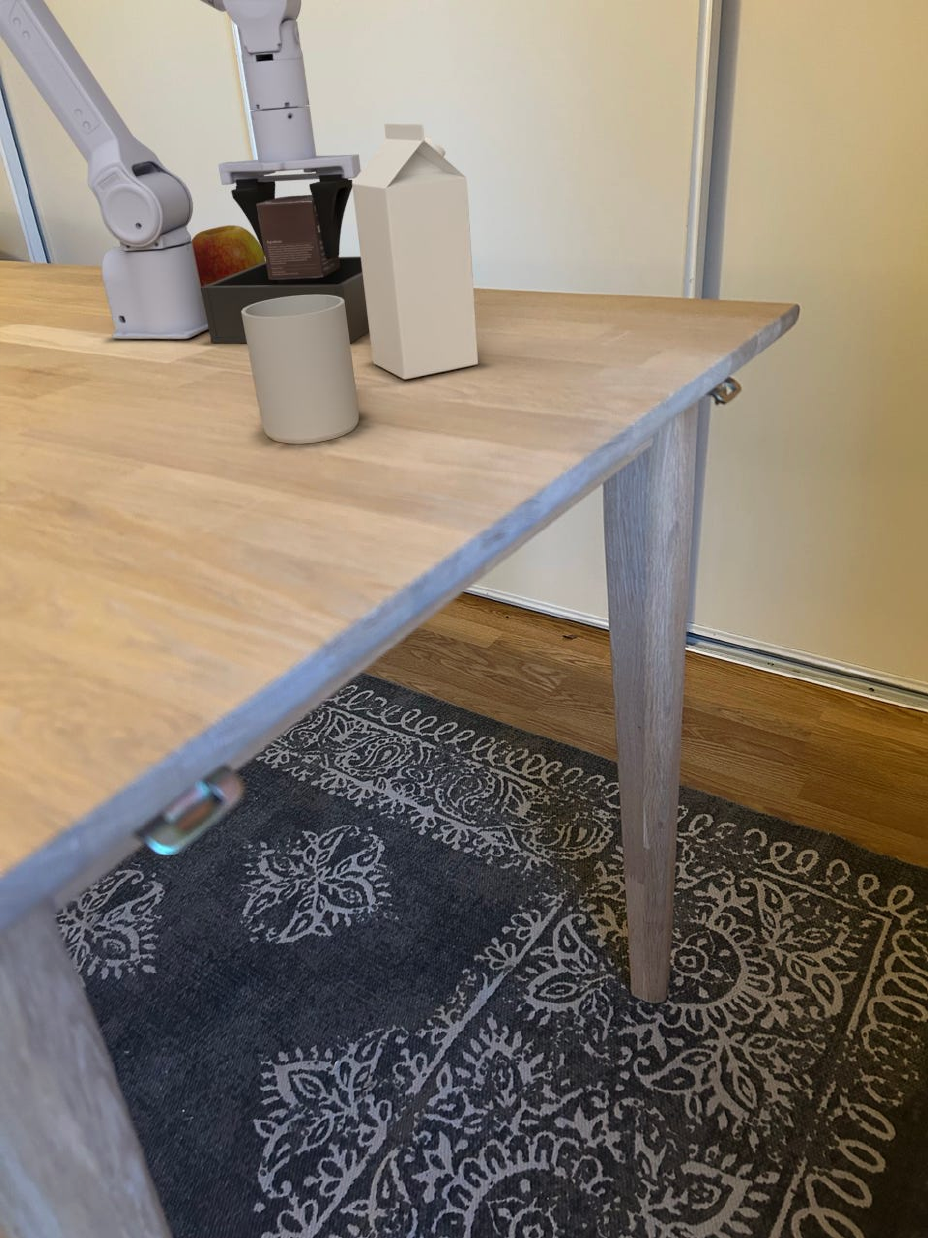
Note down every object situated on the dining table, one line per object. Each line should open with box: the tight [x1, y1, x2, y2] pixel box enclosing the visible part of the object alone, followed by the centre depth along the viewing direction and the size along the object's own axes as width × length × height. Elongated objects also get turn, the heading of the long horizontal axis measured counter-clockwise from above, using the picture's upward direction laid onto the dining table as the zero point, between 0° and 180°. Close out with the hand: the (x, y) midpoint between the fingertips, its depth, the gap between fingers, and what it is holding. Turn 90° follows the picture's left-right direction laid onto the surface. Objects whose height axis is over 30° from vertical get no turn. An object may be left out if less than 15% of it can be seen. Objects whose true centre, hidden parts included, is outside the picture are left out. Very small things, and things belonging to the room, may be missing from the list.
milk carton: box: [352, 123, 479, 380], centre depth 79 cm, size 7×7×19 cm
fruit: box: [191, 224, 266, 287], centre depth 116 cm, size 10×9×8 cm
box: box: [256, 194, 340, 280], centre depth 97 cm, size 6×6×7 cm
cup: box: [241, 295, 360, 445], centre depth 70 cm, size 7×10×9 cm
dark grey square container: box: [200, 255, 370, 345], centre depth 100 cm, size 16×16×6 cm
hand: (302, 257), depth 98 cm, fingers closed on box, 6 cm apart
